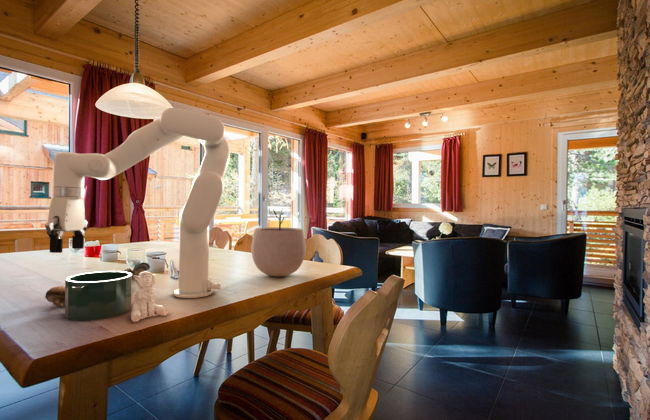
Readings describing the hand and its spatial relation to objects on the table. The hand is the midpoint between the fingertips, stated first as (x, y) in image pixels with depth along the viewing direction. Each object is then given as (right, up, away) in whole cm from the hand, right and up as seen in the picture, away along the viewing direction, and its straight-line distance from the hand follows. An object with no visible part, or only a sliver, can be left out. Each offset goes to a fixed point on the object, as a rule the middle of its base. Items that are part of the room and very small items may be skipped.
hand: (67, 250), depth 105 cm
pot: (+14, -17, -7) cm, 23 cm away
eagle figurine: (+2, -16, +36) cm, 39 cm away
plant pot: (+57, -17, +50) cm, 78 cm away
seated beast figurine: (+28, -17, -9) cm, 34 cm away
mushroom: (0, -16, -2) cm, 16 cm away
